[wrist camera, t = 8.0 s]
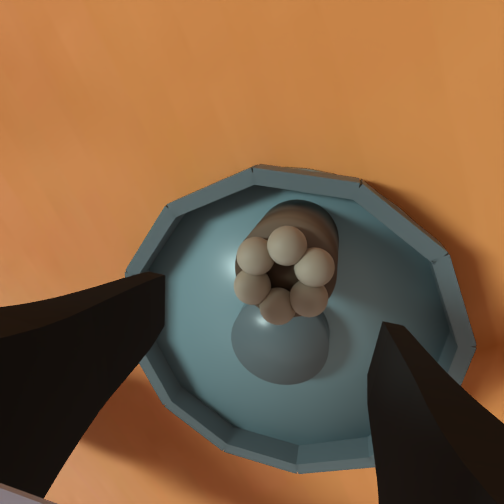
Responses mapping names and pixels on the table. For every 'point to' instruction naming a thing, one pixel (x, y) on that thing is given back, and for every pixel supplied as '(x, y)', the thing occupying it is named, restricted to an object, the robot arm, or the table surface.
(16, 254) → the table surface
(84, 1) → the table surface
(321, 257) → the brown ball-rimmed cylinder
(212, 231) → the round groove tray
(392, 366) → the robot arm
